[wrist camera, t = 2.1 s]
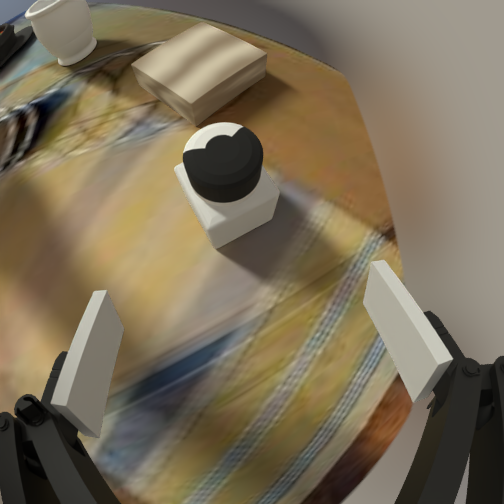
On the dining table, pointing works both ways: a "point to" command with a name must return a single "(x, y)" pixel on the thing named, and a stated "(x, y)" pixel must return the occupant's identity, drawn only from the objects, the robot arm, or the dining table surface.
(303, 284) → the dining table surface
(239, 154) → the medicine bottle
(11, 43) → the casserole
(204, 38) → the birch block
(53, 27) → the jar
